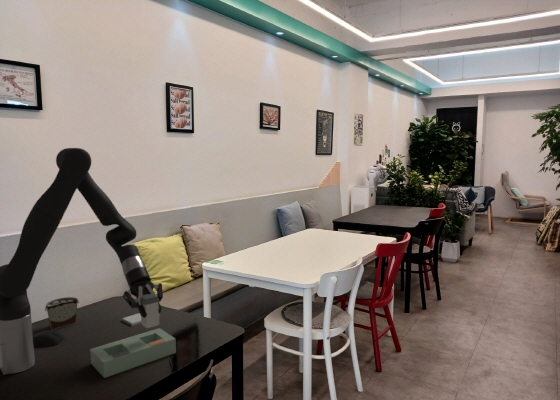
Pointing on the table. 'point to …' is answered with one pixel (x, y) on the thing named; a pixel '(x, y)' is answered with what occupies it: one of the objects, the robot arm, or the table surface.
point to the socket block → (132, 352)
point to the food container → (62, 312)
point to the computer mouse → (47, 338)
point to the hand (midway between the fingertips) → (152, 314)
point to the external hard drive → (133, 319)
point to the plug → (150, 310)
